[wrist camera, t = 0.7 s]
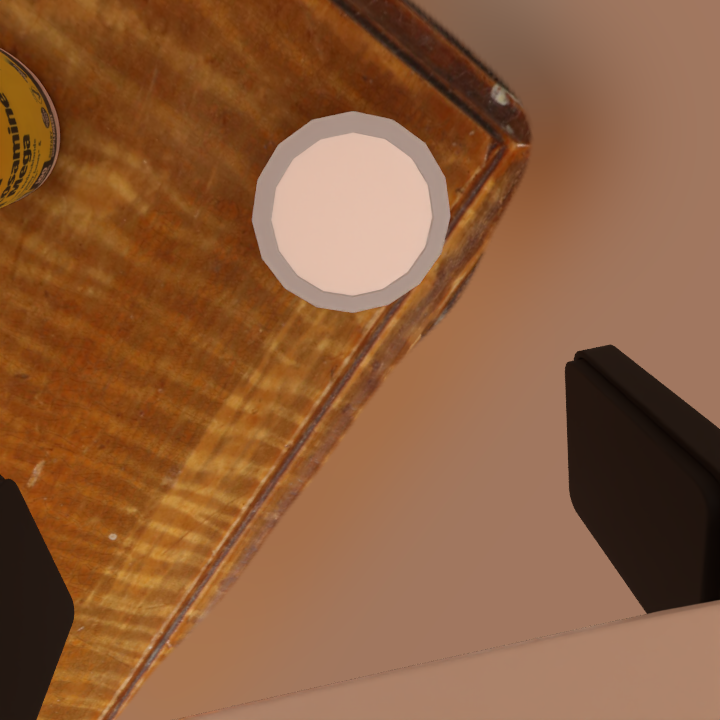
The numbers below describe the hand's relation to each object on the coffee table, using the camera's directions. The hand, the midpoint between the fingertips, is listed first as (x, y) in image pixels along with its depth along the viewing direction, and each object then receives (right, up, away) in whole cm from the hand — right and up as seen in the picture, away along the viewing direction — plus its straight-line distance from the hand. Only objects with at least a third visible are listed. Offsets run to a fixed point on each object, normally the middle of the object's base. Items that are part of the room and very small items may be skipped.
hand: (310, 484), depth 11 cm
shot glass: (0, +10, +17) cm, 20 cm away
